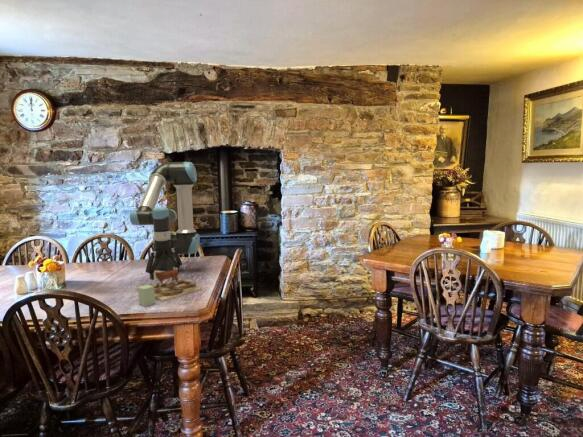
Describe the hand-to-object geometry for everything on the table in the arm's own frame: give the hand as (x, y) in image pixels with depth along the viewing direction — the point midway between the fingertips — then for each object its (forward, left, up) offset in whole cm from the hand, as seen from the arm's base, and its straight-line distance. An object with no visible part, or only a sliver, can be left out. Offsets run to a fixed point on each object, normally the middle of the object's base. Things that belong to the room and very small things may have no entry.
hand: (165, 283), depth 194 cm
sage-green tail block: (+7, -14, -5) cm, 17 cm away
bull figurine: (0, 0, -1) cm, 1 cm away
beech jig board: (0, +3, -5) cm, 6 cm away
